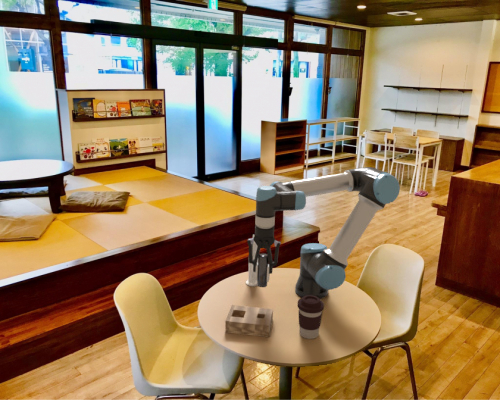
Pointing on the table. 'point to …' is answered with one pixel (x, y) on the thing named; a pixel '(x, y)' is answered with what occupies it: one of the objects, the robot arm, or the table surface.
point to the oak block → (249, 320)
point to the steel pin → (262, 270)
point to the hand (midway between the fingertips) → (262, 279)
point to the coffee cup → (310, 316)
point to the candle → (252, 274)
